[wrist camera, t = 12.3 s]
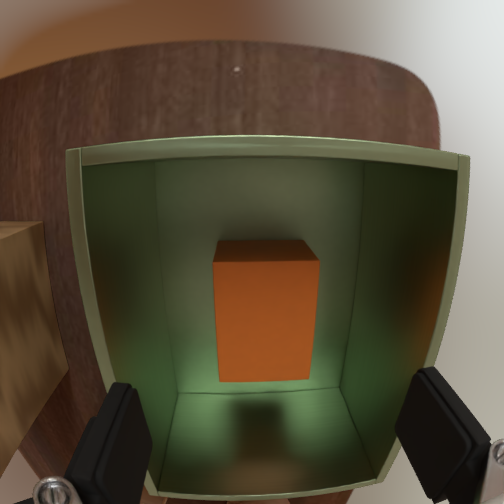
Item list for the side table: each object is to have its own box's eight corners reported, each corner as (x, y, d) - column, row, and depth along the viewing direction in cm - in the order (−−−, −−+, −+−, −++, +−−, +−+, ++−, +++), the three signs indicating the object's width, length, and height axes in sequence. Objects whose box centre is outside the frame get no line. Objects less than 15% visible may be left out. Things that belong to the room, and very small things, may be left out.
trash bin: (172, 392, 22) (149, 495, 13) (147, 152, 17) (64, 149, 8) (343, 387, 23) (383, 482, 13) (369, 153, 18) (471, 155, 9)
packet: (217, 240, 18) (212, 262, 15) (304, 239, 19) (320, 260, 15) (222, 344, 20) (219, 382, 16) (297, 342, 20) (309, 379, 17)
